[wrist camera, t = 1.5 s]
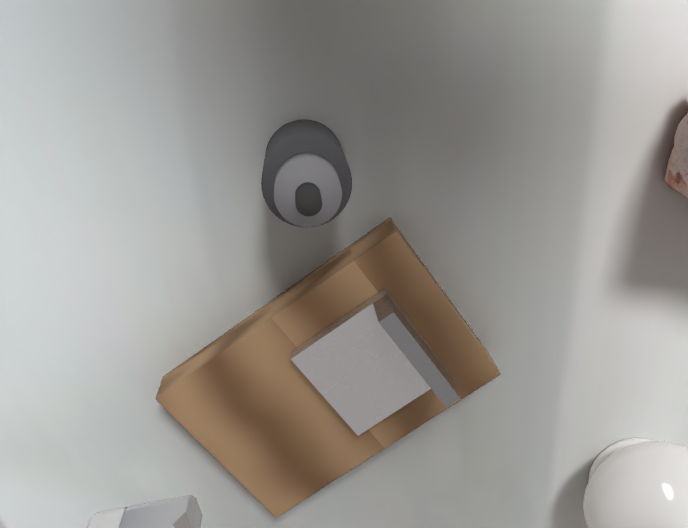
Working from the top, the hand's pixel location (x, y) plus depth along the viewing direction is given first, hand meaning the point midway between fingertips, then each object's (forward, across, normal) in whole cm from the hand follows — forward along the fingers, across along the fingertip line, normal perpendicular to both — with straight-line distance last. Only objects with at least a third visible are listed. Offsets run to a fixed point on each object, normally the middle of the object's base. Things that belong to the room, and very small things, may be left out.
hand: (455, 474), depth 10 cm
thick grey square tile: (+27, 0, +13) cm, 30 cm away
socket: (+30, +2, +14) cm, 33 cm away
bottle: (+30, +1, 0) cm, 30 cm away
